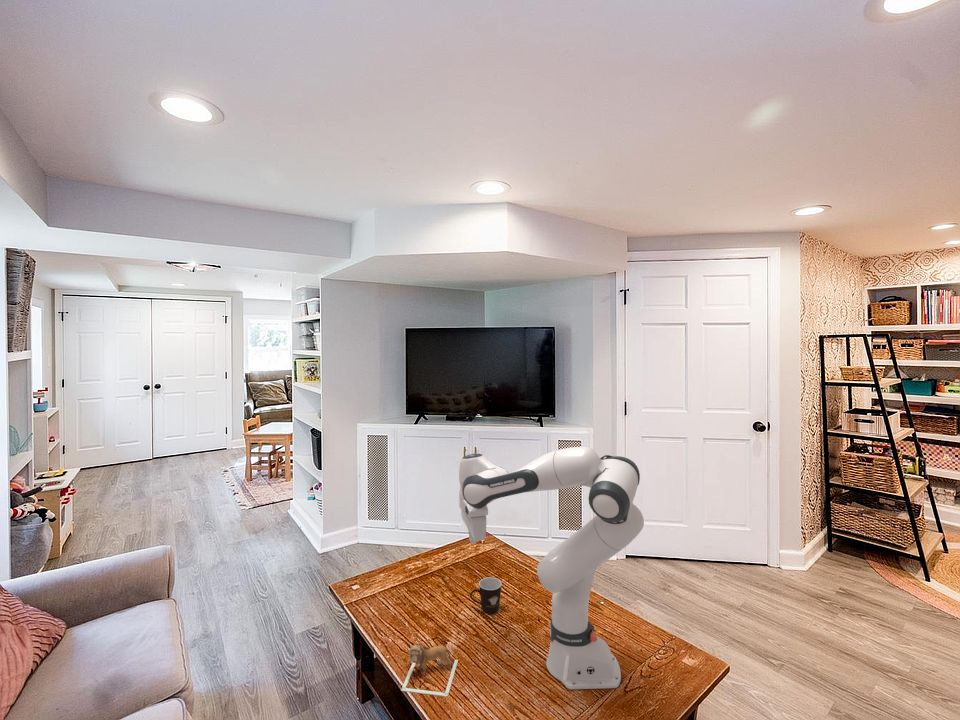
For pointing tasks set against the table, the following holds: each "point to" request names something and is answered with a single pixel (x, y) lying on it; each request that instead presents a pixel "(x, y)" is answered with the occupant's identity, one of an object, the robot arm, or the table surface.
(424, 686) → the table surface
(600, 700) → the table surface
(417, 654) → the lion figurine
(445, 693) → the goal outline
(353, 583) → the table surface
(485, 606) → the coffee mug
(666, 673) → the table surface
